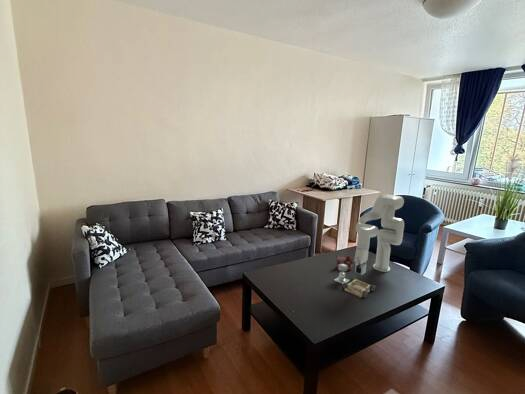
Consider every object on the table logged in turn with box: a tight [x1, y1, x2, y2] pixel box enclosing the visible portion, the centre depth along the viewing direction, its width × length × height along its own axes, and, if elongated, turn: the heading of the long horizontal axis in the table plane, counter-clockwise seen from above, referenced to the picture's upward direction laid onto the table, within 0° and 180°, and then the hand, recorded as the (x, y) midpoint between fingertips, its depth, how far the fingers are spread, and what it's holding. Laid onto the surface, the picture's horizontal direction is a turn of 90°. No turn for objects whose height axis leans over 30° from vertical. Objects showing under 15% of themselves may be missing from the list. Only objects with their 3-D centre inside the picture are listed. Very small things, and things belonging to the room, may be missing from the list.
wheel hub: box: [337, 264, 348, 272], centre depth 196 cm, size 6×6×3 cm
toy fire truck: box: [336, 254, 354, 271], centre depth 216 cm, size 7×12×10 cm, turn 81°
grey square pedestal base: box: [333, 271, 351, 285], centre depth 197 cm, size 8×8×6 cm
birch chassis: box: [342, 276, 376, 299], centre depth 186 cm, size 16×16×4 cm
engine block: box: [354, 262, 367, 276], centre depth 183 cm, size 5×5×6 cm
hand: (360, 271), depth 184 cm, fingers closed on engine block, 5 cm apart
